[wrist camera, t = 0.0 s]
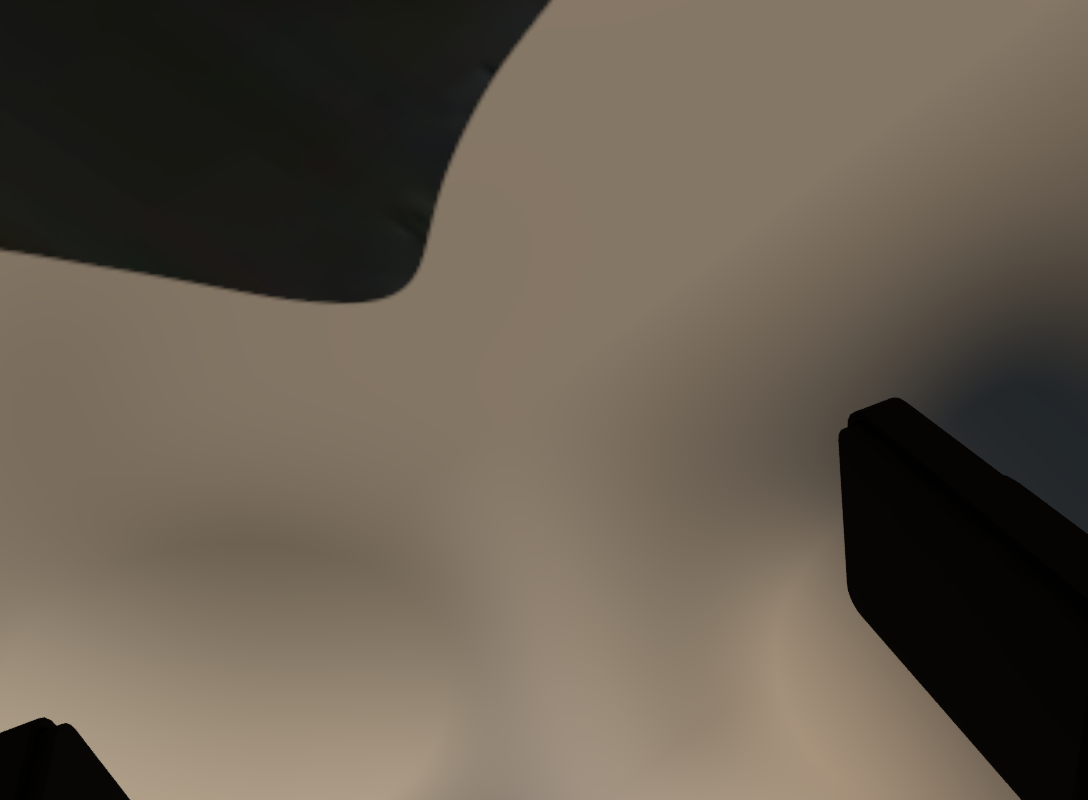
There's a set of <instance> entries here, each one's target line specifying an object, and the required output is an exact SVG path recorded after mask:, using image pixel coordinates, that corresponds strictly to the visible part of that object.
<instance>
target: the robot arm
mask: <svg viewBox="0 0 1088 800" xmlns="http://www.w3.org/2000/svg"><path fill="white" fill-rule="evenodd" d="M838 442H839V457H840V475H841V490H842V509H843V525H844V541H845V558H846V573H847V587H848V592H849V595H850V598H851V600H852V602H853V604H854V606H855V608H856V609H857V611H858V612H859V613H860V615H861V616H862V617H863V618H864V619H865V621H866V622H867V623H868V624H869V625H870V626H871V627H872V629H873V630H874V631H875V632H876V633H877V634H878V636H879V637H880V638H881V639H882V640H883V641H884V642H885V644H886V645H887V646H888V647H889V648H890V649H891V650H892V652H893V653H894V654H895V655H896V656H897V657H898V659H899V660H900V661H901V662H902V663H903V664H904V665H905V667H906V668H907V669H908V670H909V671H910V672H911V673H912V675H913V676H914V677H915V678H916V679H917V680H918V681H919V683H920V684H921V685H922V686H923V687H924V688H925V690H926V691H927V692H928V693H929V694H930V695H931V696H932V698H933V699H934V700H935V701H936V702H937V703H938V704H939V706H940V707H941V708H942V709H943V710H944V711H945V713H946V714H947V715H948V716H949V717H950V718H951V719H952V721H953V722H954V723H955V724H956V725H957V726H958V728H959V729H960V730H961V731H962V732H963V733H964V734H965V735H966V737H967V738H968V739H969V740H970V741H971V742H972V744H973V745H974V746H975V747H976V748H977V749H978V751H979V752H980V753H981V754H982V755H983V756H984V757H985V759H986V760H987V761H988V762H989V763H990V764H991V765H992V767H993V768H994V769H995V770H996V771H997V772H998V773H999V775H1000V776H1001V777H1002V778H1003V779H1004V780H1005V782H1006V783H1007V784H1008V785H1009V786H1010V787H1011V788H1012V790H1013V791H1014V792H1015V793H1016V794H1017V795H1018V796H1019V797H1020V799H1021V800H1088V534H1087V533H1085V532H1084V531H1083V530H1081V529H1080V528H1079V527H1077V526H1076V525H1075V524H1073V523H1072V522H1071V521H1069V520H1068V519H1067V518H1065V517H1064V516H1063V515H1061V514H1060V513H1059V512H1057V511H1056V510H1055V509H1053V508H1052V507H1051V506H1049V505H1048V504H1047V503H1045V502H1044V501H1043V500H1041V499H1040V498H1039V497H1037V496H1036V495H1035V494H1033V493H1032V492H1031V491H1029V490H1028V489H1027V488H1025V487H1024V486H1022V485H1021V484H1020V483H1018V482H1016V481H1015V480H1013V479H1011V478H1010V477H1008V476H1005V475H1002V474H1001V473H1000V472H998V471H997V470H996V469H994V468H993V467H992V466H990V465H989V464H988V463H986V462H985V461H984V460H982V459H981V458H980V457H978V456H977V455H976V454H975V453H973V452H972V451H971V450H969V449H968V448H966V447H965V446H964V445H963V444H961V443H960V442H958V441H957V440H956V439H955V438H953V437H952V436H951V435H949V434H948V433H947V432H945V431H944V430H943V429H941V428H940V427H939V426H937V425H936V424H935V423H933V422H932V421H931V420H929V419H928V418H927V417H925V416H924V415H923V414H921V413H920V412H919V411H917V410H916V409H915V408H913V407H912V406H911V405H909V404H908V403H907V402H905V401H904V400H902V399H900V398H890V399H888V400H885V401H882V402H880V403H877V404H874V405H872V406H869V407H866V408H864V409H861V410H858V411H856V412H854V413H852V414H850V417H849V419H848V427H847V428H844V429H842V430H841V431H840V433H839V439H838ZM0 800H130V799H129V798H128V797H127V795H126V794H125V793H124V791H123V790H122V789H121V787H120V786H119V785H118V784H117V782H116V781H115V780H114V778H113V777H112V776H111V775H110V773H109V772H108V771H107V769H106V768H105V767H104V765H103V764H102V763H101V762H100V760H99V759H98V758H97V756H96V755H95V754H94V753H93V751H92V750H91V749H90V747H89V746H88V745H87V744H86V742H85V741H84V740H83V738H82V737H81V736H80V735H79V733H78V732H77V731H76V729H75V728H74V727H73V726H72V725H70V724H68V723H64V724H61V725H58V726H56V725H55V724H54V723H53V722H52V721H51V720H49V719H47V718H45V717H44V718H38V719H36V720H33V721H31V722H28V723H25V724H22V725H20V726H17V727H14V728H12V729H9V730H6V731H4V732H1V733H0Z"/></svg>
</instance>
